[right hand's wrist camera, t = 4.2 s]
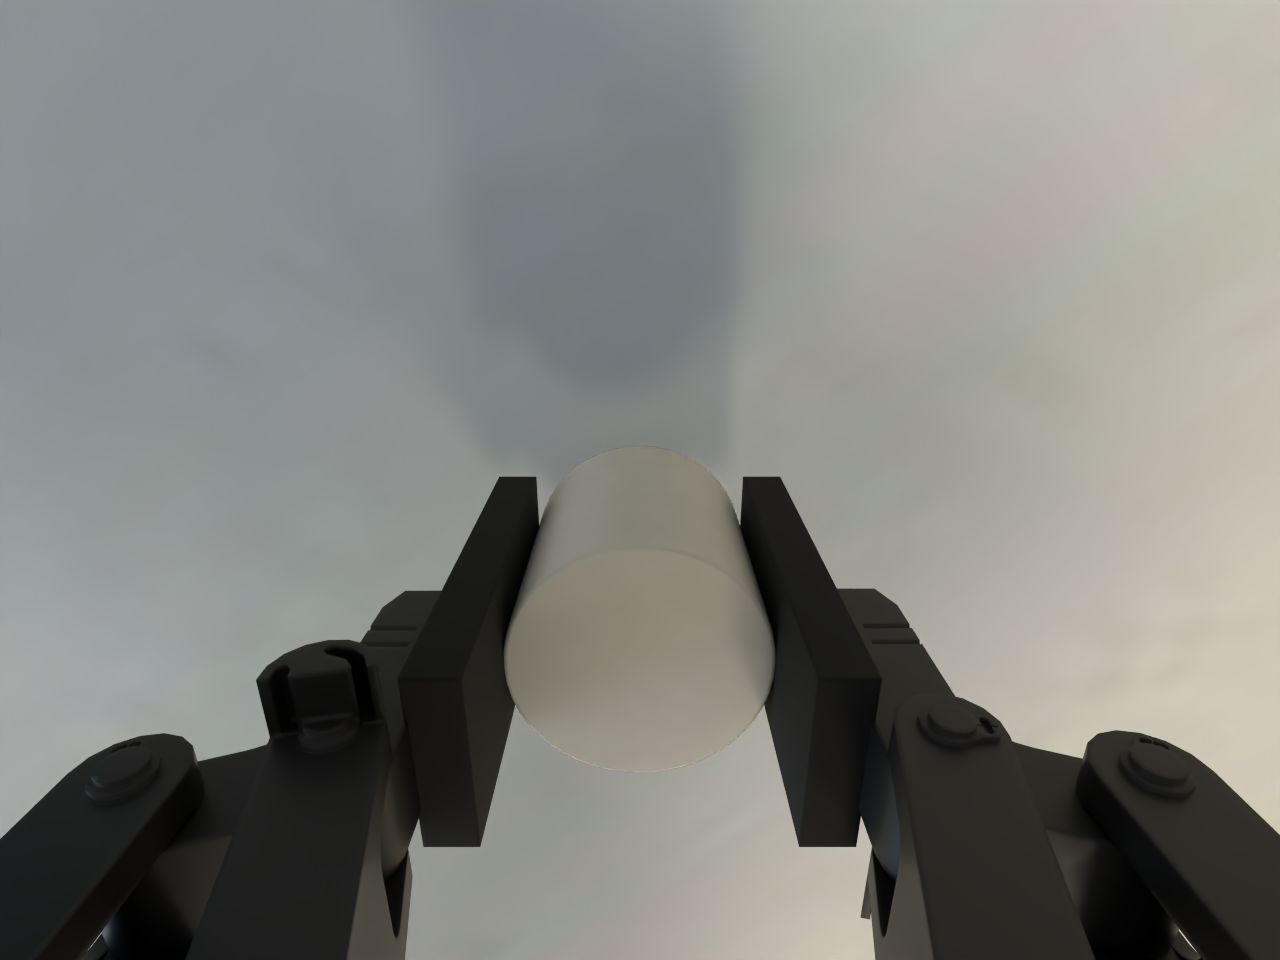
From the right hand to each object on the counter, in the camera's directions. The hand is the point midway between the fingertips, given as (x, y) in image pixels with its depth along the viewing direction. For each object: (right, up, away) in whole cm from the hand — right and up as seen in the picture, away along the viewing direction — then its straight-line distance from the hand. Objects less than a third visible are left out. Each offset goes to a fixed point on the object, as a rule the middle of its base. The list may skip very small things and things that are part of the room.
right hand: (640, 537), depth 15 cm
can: (0, 0, 0) cm, 0 cm away
